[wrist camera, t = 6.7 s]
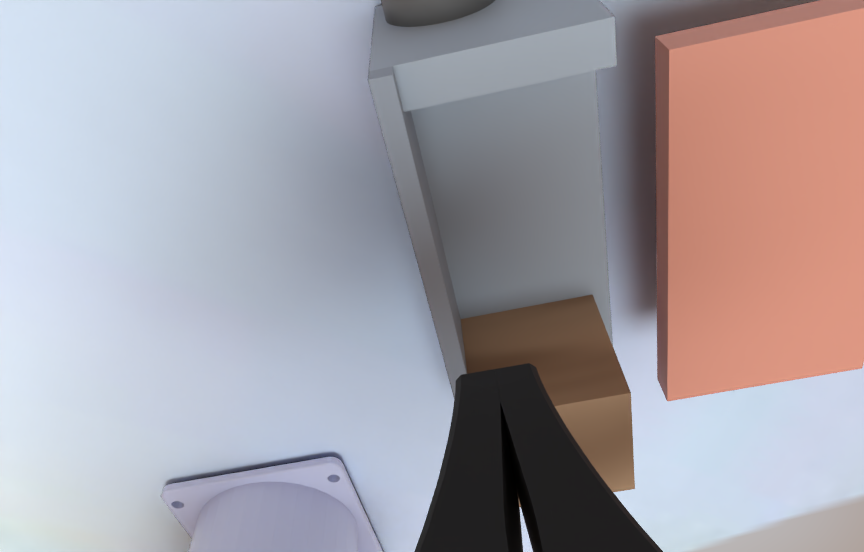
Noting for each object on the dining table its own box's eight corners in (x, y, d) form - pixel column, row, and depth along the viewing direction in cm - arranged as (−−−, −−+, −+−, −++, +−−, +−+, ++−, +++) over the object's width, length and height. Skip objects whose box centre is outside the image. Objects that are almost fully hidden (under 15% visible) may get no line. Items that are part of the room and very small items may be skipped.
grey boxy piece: (597, 374, 26) (638, 494, 22) (471, 396, 26) (487, 519, 22) (559, -89, 16) (619, -43, 12) (362, -42, 17) (351, 18, 12)
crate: (599, 386, 22) (634, 489, 19) (481, 407, 22) (495, 511, 19) (592, 294, 20) (630, 393, 17) (460, 319, 20) (472, 420, 17)
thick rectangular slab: (655, 374, 22) (841, 342, 22) (667, 401, 21) (861, 368, 21) (652, 33, 16) (920, -26, 15) (669, 49, 15) (956, -13, 14)
